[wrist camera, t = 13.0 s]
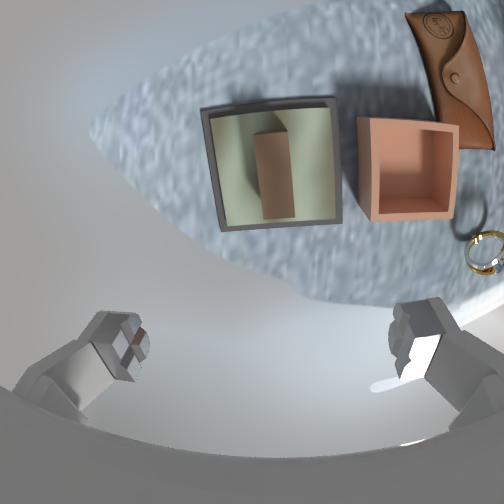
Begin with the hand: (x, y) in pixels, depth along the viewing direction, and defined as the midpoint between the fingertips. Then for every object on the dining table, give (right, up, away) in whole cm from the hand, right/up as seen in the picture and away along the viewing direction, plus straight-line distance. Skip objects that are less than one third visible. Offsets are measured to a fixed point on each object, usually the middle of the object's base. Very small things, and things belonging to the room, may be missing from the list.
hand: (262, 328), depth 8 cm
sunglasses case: (+23, +22, +14) cm, 35 cm away
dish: (+16, +12, +19) cm, 28 cm away
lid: (+2, +11, +21) cm, 24 cm away
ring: (+30, +4, +22) cm, 38 cm away
